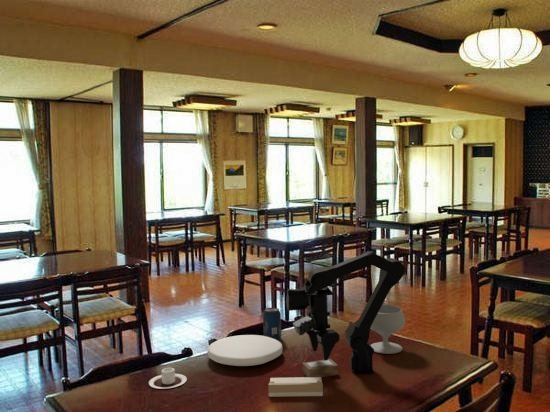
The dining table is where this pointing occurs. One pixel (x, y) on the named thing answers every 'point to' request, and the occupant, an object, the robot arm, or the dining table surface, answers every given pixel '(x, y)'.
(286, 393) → the wall board
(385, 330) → the chalice
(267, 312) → the soda can
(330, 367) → the frame
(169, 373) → the candle holder
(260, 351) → the white thick flat disc
